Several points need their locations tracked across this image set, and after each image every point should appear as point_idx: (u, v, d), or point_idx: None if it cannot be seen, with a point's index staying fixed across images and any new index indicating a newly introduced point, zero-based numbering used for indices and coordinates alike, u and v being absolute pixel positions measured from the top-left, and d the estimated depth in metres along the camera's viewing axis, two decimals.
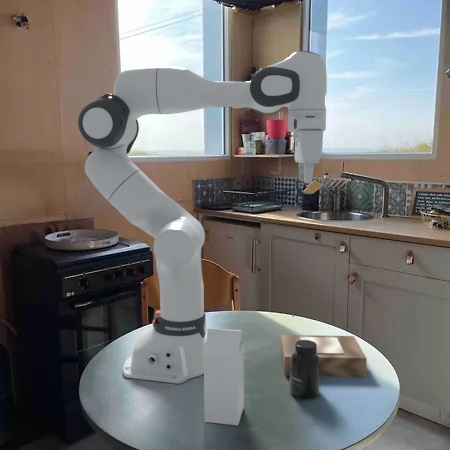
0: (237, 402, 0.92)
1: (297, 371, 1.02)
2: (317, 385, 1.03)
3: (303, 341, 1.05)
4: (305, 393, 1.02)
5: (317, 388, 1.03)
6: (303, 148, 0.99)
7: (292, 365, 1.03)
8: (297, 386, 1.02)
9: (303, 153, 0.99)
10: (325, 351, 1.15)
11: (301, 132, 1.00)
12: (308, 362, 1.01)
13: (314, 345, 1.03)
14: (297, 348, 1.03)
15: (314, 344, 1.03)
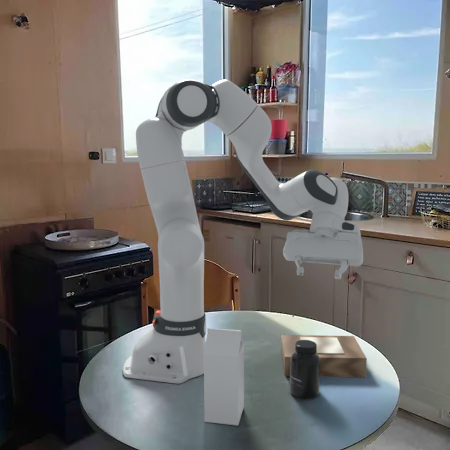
0: (237, 402, 0.92)
1: (297, 371, 1.02)
2: (317, 385, 1.03)
3: (303, 341, 1.05)
4: (305, 393, 1.02)
5: (317, 388, 1.03)
6: (362, 248, 1.12)
7: (292, 365, 1.03)
8: (297, 386, 1.02)
9: (361, 252, 1.12)
10: (325, 351, 1.15)
11: (359, 235, 1.14)
12: (308, 362, 1.01)
13: (314, 345, 1.03)
14: (297, 348, 1.03)
15: (314, 344, 1.03)
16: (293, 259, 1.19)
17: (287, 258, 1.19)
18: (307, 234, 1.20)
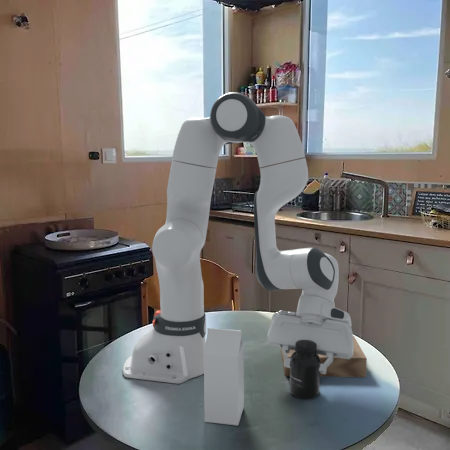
0: (237, 402, 0.92)
1: (297, 371, 1.02)
2: (317, 385, 1.03)
3: (303, 341, 1.05)
4: (305, 392, 1.02)
5: (317, 388, 1.03)
6: (352, 340, 1.03)
7: (292, 365, 1.03)
8: (297, 385, 1.02)
9: (351, 345, 1.02)
10: None
11: (349, 325, 1.05)
12: (308, 362, 1.01)
13: (314, 345, 1.03)
14: (297, 348, 1.03)
15: (314, 344, 1.03)
16: (278, 346, 1.10)
17: (271, 345, 1.10)
18: (293, 319, 1.10)
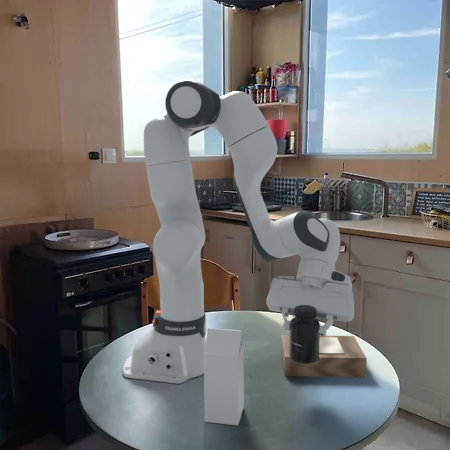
0: (237, 402, 0.92)
1: (297, 336, 1.01)
2: (317, 350, 1.02)
3: (302, 306, 1.03)
4: (305, 357, 1.01)
5: (317, 353, 1.02)
6: (352, 303, 1.02)
7: (291, 330, 1.02)
8: (297, 350, 1.01)
9: (352, 307, 1.01)
10: (325, 351, 1.15)
11: (350, 288, 1.04)
12: (308, 326, 1.00)
13: (313, 309, 1.01)
14: (296, 313, 1.01)
15: (313, 308, 1.02)
16: (277, 310, 1.08)
17: (271, 308, 1.09)
18: (293, 282, 1.09)
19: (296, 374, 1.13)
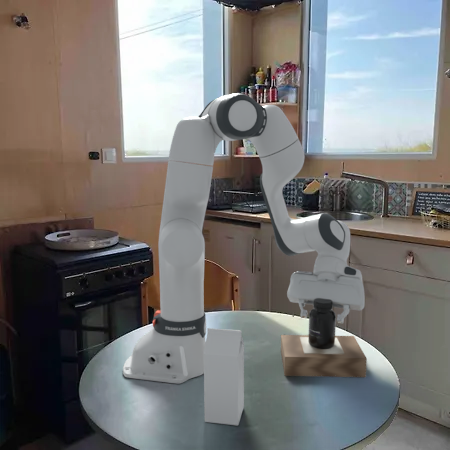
0: (237, 402, 0.92)
1: (316, 324, 1.16)
2: (333, 336, 1.17)
3: (320, 299, 1.19)
4: (323, 343, 1.16)
5: (333, 339, 1.17)
6: (363, 293, 1.17)
7: (311, 319, 1.17)
8: (315, 337, 1.16)
9: (363, 297, 1.16)
10: (325, 351, 1.15)
11: (360, 280, 1.19)
12: (325, 316, 1.15)
13: (330, 301, 1.17)
14: (315, 304, 1.17)
15: (330, 300, 1.17)
16: (297, 301, 1.23)
17: (291, 300, 1.24)
18: (310, 277, 1.24)
19: (296, 374, 1.13)
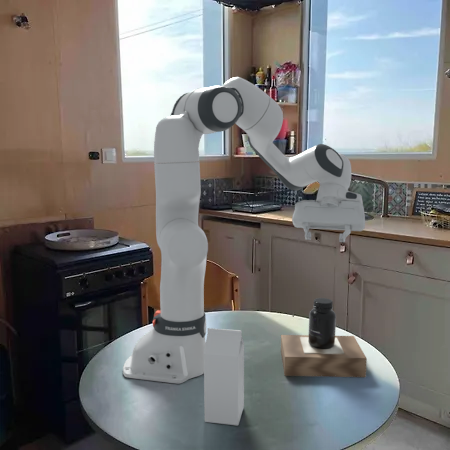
0: (237, 402, 0.92)
1: (316, 324, 1.16)
2: (333, 336, 1.17)
3: (320, 299, 1.19)
4: (323, 343, 1.16)
5: (333, 339, 1.17)
6: (364, 214, 1.25)
7: (311, 319, 1.17)
8: (316, 337, 1.16)
9: (363, 217, 1.24)
10: (325, 351, 1.15)
11: (361, 203, 1.27)
12: (326, 316, 1.15)
13: (330, 301, 1.17)
14: (315, 304, 1.16)
15: (330, 301, 1.17)
16: (301, 226, 1.31)
17: (296, 225, 1.32)
18: (314, 203, 1.32)
19: (296, 374, 1.13)
